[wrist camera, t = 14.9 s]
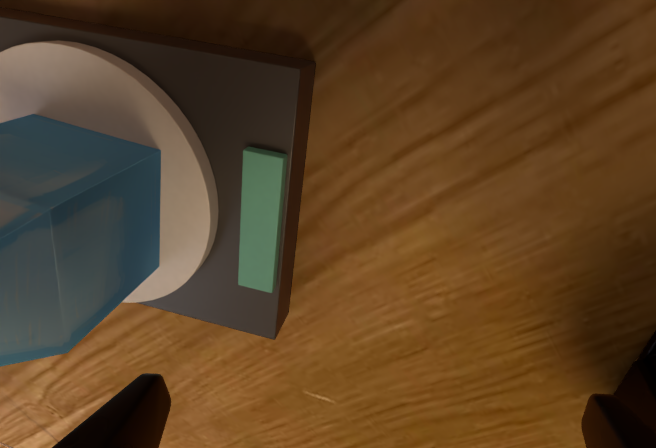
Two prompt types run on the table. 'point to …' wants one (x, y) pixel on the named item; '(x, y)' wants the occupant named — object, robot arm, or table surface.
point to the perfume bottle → (70, 231)
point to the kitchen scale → (184, 151)
